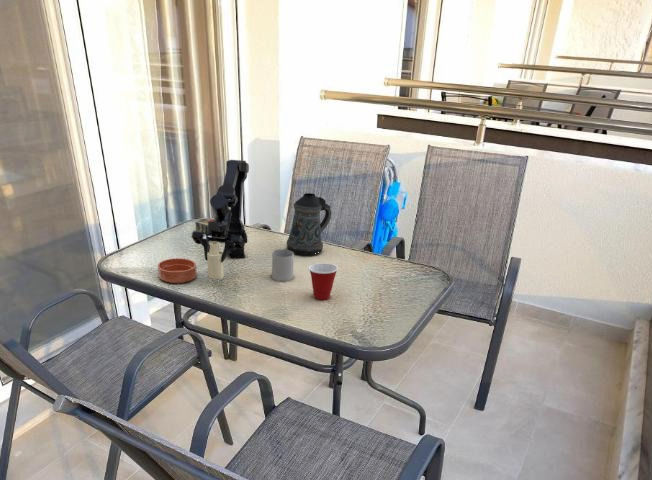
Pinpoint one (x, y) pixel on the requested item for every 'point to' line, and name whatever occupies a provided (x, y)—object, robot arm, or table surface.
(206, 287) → the table surface
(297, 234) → the beer stein
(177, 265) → the bowl
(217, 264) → the bottle
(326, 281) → the plastic cup
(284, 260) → the cup
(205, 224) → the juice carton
